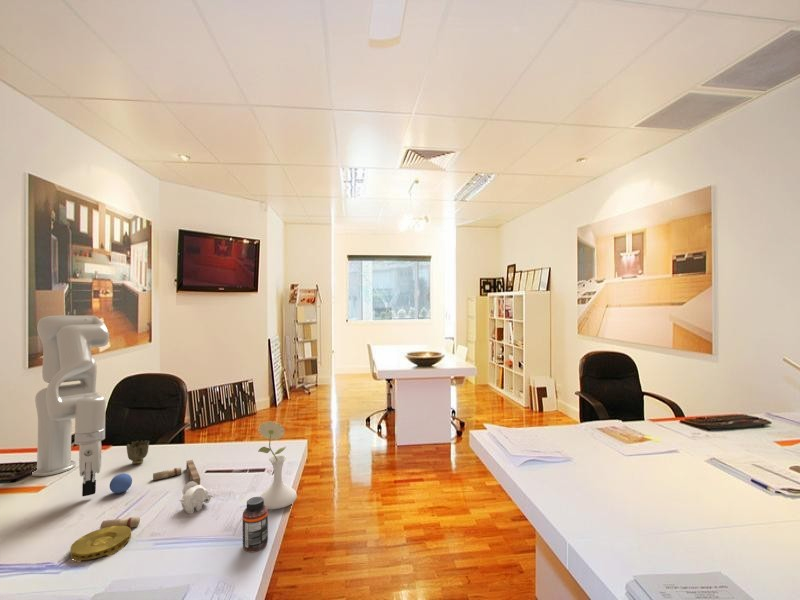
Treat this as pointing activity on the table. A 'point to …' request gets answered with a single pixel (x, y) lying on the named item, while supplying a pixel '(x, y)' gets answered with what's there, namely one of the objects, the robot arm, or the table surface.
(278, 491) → the flower in vase
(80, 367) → the robot arm
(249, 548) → the supplement bottle
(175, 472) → the rear pin
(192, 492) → the elephant figurine
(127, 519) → the front pin
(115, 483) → the ball
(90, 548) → the gold brake disc
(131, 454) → the cup
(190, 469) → the wooden plank
